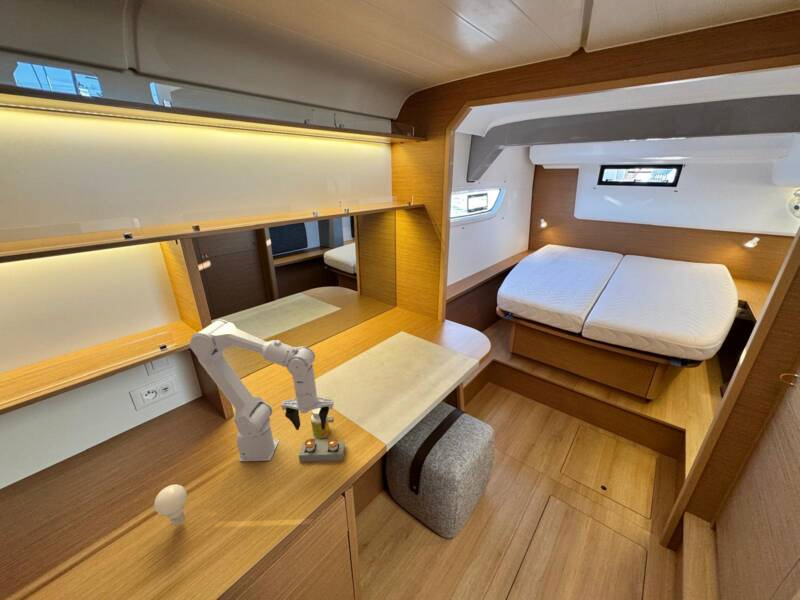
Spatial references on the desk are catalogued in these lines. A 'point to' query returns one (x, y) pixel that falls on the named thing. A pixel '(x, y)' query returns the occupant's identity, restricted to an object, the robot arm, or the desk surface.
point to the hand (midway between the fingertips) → (311, 427)
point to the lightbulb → (171, 503)
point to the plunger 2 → (333, 445)
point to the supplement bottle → (318, 424)
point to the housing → (322, 451)
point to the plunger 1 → (310, 446)
